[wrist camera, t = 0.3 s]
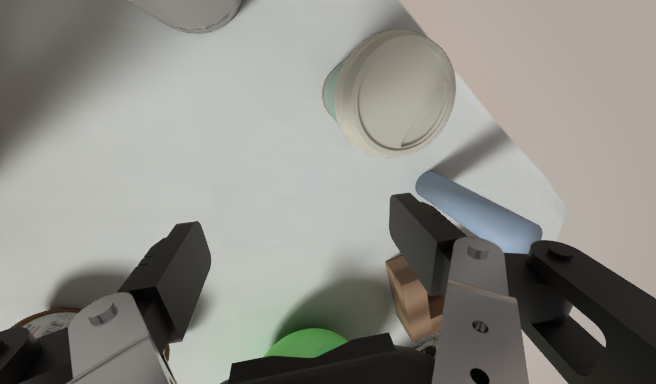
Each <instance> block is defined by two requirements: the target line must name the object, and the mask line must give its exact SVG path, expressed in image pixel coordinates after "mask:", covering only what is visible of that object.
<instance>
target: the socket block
mask: <svg viewBox="0 0 656 384" xmlns="http://www.w3.org/2000/svg"><path fill="white" fill-rule="evenodd" d="M385 263H386V267H387V272H388V276H389V281H390V286H391V290H392V295H393V299H394V304H395V309H396V313H397V316H398V318H399V320H400V321H401V323H402V325H403V326H404V328H405V330H406V332H407V333H408V335H409V337H410V338H411V340H412V342H415V341H417V340H419V339H422V338H424V337H426V336H428V335H431V334H433V333H435V332H437V331H440V326H441V319H442V313H443V307H444V301H445V298H444V296H443V295H442V294H440V295H435V296H429V294H428V293H427V291H426V290H425V288H424V287H423V285H422V284H421V282H420V281H419V279H418V278H417V276H416V275H415V273H414V272H413V270H412V268H411V267H410V265H409V264H408V262H407V261H406V259H405V258H404V256H403V255H401V256H399V257H396V258H394V259H391V260H389V261H386V262H385Z"/></svg>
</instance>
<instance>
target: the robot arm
mask: <svg viewBox="0 0 656 384" xmlns="http://www.w3.org/2000/svg"><path fill="white" fill-rule="evenodd" d="M127 1H129V2H131V3H132V4H134V5H135V6H137V7H139V8H140V9H142V10H143V11H145V12H146V13H148V14H150V15H151V16H153V17H154V18H156V19H158V20H159V21H161V22H163V23H165V24H166V25H168V26H170V27H172V28H174V29H177V30H181V31H184V32H187V33H198V34H200V33H207V32H212V31H214V30H217V29H219V28H221V27H223V26H224V25H225V24H227V23H228V22H229V21H230V20H231V19H232V18H233V16H234V15H235V14H236V13H237V11H238V9H239V7H240V4H241V2H242V0H127ZM389 230H390V235H391V237H392V240H393V241H394V243H395V244H396V246H397V247H398V249H399V250H400V252H401V253H402V255H403V256H404V258H405V259H406V261H407V262H408V264H409V265H410V267H411V268H412V270H413V272H414V273H415V275H416V276H417V278H418V279H419V281H420V282H421V284H422V285H423V287H424V288H425V290H426V291H427V293H428V294H429V296H435V295H440V294H442V295H443V296H444V298H445V301H444V307H443V313H442V319H441V326H440V332H439V338H438V344H437V350H436V356H435V358H433V357H432V356H430V355H428V354H426V353H423V352H421V351H419V350H415V349H412V348H409V347H404V346H397V345H394V344H393V342H392V339H391V337H390V334H389V333H384V334H379V335H374V336H369V337H364V338H359V339H354V340H351V341H349V342H347V343H344V344H342V345H340V346H338V347H336V348H334V349H332V350H330V351H328V352H326V353H324V354H322V355H320V356H317V357H314V358H303V357H287V356H268V357H263V358H258V359H252V360H247V361H242V362H237V363H232V366H231V371H230V377H229V379H228V380H226V381H224V382H222V383H221V384H529V382H528V374H527V368H526V360H525V353H524V346H523V339H522V331H521V329H522V330H523V331H524V332H525V334H526V335H527V336H528V337H529V338H530V339H531V341H532V342H533V343H534V344H535V345H536V346H537V348H538V349H539V350H540V351H541V352H542V353H543V354H544V356H545V357H546V358H547V359H548V360H549V361H550V363H551V364H552V365H553V366H554V367H555V368H556V369H557V370H558V372H559V373H560V374H561V375H562V377H563V378H564V379H565V380H566V381H567V382H568V384H656V299H655V298H654V297H652V296H651V295H649V294H648V293H646V292H644V291H643V290H641V289H640V288H638V287H636V286H635V285H633V284H632V283H630V282H628V281H627V280H625V279H624V278H622V277H621V276H619V275H617V274H616V273H614V272H613V271H611V270H610V269H608V268H606V267H605V266H603V265H602V264H600V263H599V262H597V261H595V260H594V259H592V258H591V257H589V256H588V255H586V254H584V253H583V252H581V251H580V250H578V249H576V248H574V247H571V246H569V245H566V244H563V243H559V242H555V241H548V240H541V241H536V242H533V243H532V244H531V246H530V249H529V252H528V254H520V253H504V252H503V251H502V249H501V248H500V247H499V246H497V245H496V244H494V243H492V242H491V241H488V240H486V239H482V238H478V237H467V236H466V235H465V234H464V233H463V232H462V231H460V230H459V229H458V228H457V227H456V226H455V225H454V224H452V223H451V222H450V221H449V220H447V218H446V217H445V216H443V215H441V213H440V212H439V211H438V210H437V209H435V208H434V207H433V206H431V205H428V204H426V203H424V202H419V201H418V200H417V199H416V198H415V197H414V196H413V195H412V194H410V193H403V194H396V195H392V196H391V198H390V217H389ZM210 266H211V255H210V251H209V248H208V245H207V242H206V239H205V236H204V233H203V230H202V227H201V224H200V223H199V222H198V221H195V222H188V223H180V224H176V225H175V227H174V228H173V229H172V231H171V232H170V234H169V235H168V236H167V238H163V239H162V240H160V241H159V242H158V243H156V244H155V245H154V246H152V247H151V248H150V250H149V251H148V252H147V254H146V255H145V256H144V258H143V259H142V260H141V261H140V263H139V264H138V267H136V268H135V269H134V271H133V272H132V273H131V274H130V276H129V277H128V278H127V280H126V281H125V282H124V284H123V285H122V286H121V287H120V289H119V290H118V291H117V293H114V294H110V295H107V296H105V297H102V298H100V299H98V300H96V301H94V302H92V303H91V304H89V305H88V306H86V307H85V308H84V309H82V310H81V311H80V312H79V313H78V314H77V315H76V316H75V317H74V318H73V319H72V321H71V322H70V324H69V327H66V328H64V329H61V330H58V331H55V332H53V333H50V334H47V335H45V336H42V337H39V338H37V339H36V338H35V337H34V336H33V334H32V333H31V332H30V331H29V330H28V329H27V328H24V327H17V328H11V329H7V330H4V331H1V332H0V384H177V381H176V379H175V377H174V375H173V373H172V371H171V369H170V366H169V364H168V362H167V360H166V358H165V356H164V354H163V351H164V349H165V347H166V344H170V343H175V342H181V341H182V340H183V337H184V335H185V332H186V330H187V327H188V324H189V322H190V319H191V317H192V314H193V311H194V309H195V306H196V304H197V301H198V298H199V296H200V293H201V290H202V288H203V285H204V283H205V280H206V277H207V275H208V272H209V270H210ZM573 305H574V306H575V307H576V308H577V309H578V310H580V311H581V312H582V313H583V314H584V315H586V316H587V317H588V318H589V319H590V320H591V321H593V322H594V323H595V324H596V325H597V326H598V327H599V328H600V330H601V331H602V333H603V334H604V336H605V339H606V347H604V346H602V345H601V344H600V343H599V342H598V341H597V340H596V339H595V338H594V337H592V336H591V335H590V334H589V333H588V332H587V331H586V330H585V329H584V328H582V327H581V326H580V325H579V324H578V323H577V322H576V321H575V320H573V318H571V317H570V316H569V313H570V311H571V309H572V307H573Z"/></svg>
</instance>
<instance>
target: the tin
mask: <svg viewBox="0 0 656 384" xmlns="http://www.w3.org/2000/svg"><path fill="white" fill-rule="evenodd" d="M80 311H81V310H77V309H55V310H49V311H44V312H41V313H38V314H35V315H32V316H30V317H27V318H25V319H23V320H22V321H20V322H18V323H17V324H15V325H14V326H12V327H11V328H17V327H24V328H27V329H28V330H29V331H30V332H31V333H32V334H33V336H34V337H35V338H36V339H37V338H39V337H42V336H45V335H47V334H50V333H53V332H55V331H58V330H61V329H64V328H66V327H69V324H70V322H71V321H72V319H73V318H74V317H75V316H76V315H77V314H78V313H79V312H80ZM11 328H10V329H11ZM169 351H170V349H169V344H166V347H165V349H164V351H163V354H164V356H165V358H166V360H167V362H168V360H169Z"/></svg>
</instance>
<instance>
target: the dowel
mask: <svg viewBox="0 0 656 384" xmlns="http://www.w3.org/2000/svg"><path fill="white" fill-rule="evenodd" d="M416 192H417V193H418V194H419V195H420V196H421V197H423V198H424V199H426V200H427V201H429V202H430V203H431V204H433V205H434V206H436V207H437V208H438V209H440V210H441V211H443V212H444V213H446V214H447V215H448V216H450V217H451V218H453V219H454V220H455V221H457V222H458V223H460V224H461V225H463V226H464V227H465V228H467V229H468V230H470V231H471V232H473V233H474V234H475V235H477V236H478V237H480V238H482V239H486V240H488V241H491V242H492V243H494V244H496V245H497V246H499V247H500V248H501V249H502V251H503V252H504V253H520V254H528V252H529V249H530V246H531V244H532V243H533V242H536V241H541V238H542V229H541V227H540V226H539V225H537V224H535V223H533V222H531V221H529V220H527V219H525V218H524V217H522V216H520V215H518V214H516V213H514V212H512V211H510V210H508V209H506V208H504V207H502V206H500V205H498V204H496V203H494V202H492V201H490V200H488V199H486V198H484V197H482V196H480V195H479V194H477V193H475V192H473V191H471V190H469V189H467V188H465V187H463V186H461V185H459V184H457V183H455V182H453V181H451V180H449V179H447V178H445V177H443V176H441V175H439V174H437V173H435V172H433V171H429V172H426V173H424V174H422V175H421V176H420V177H419V179H418V180H417V183H416Z"/></svg>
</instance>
